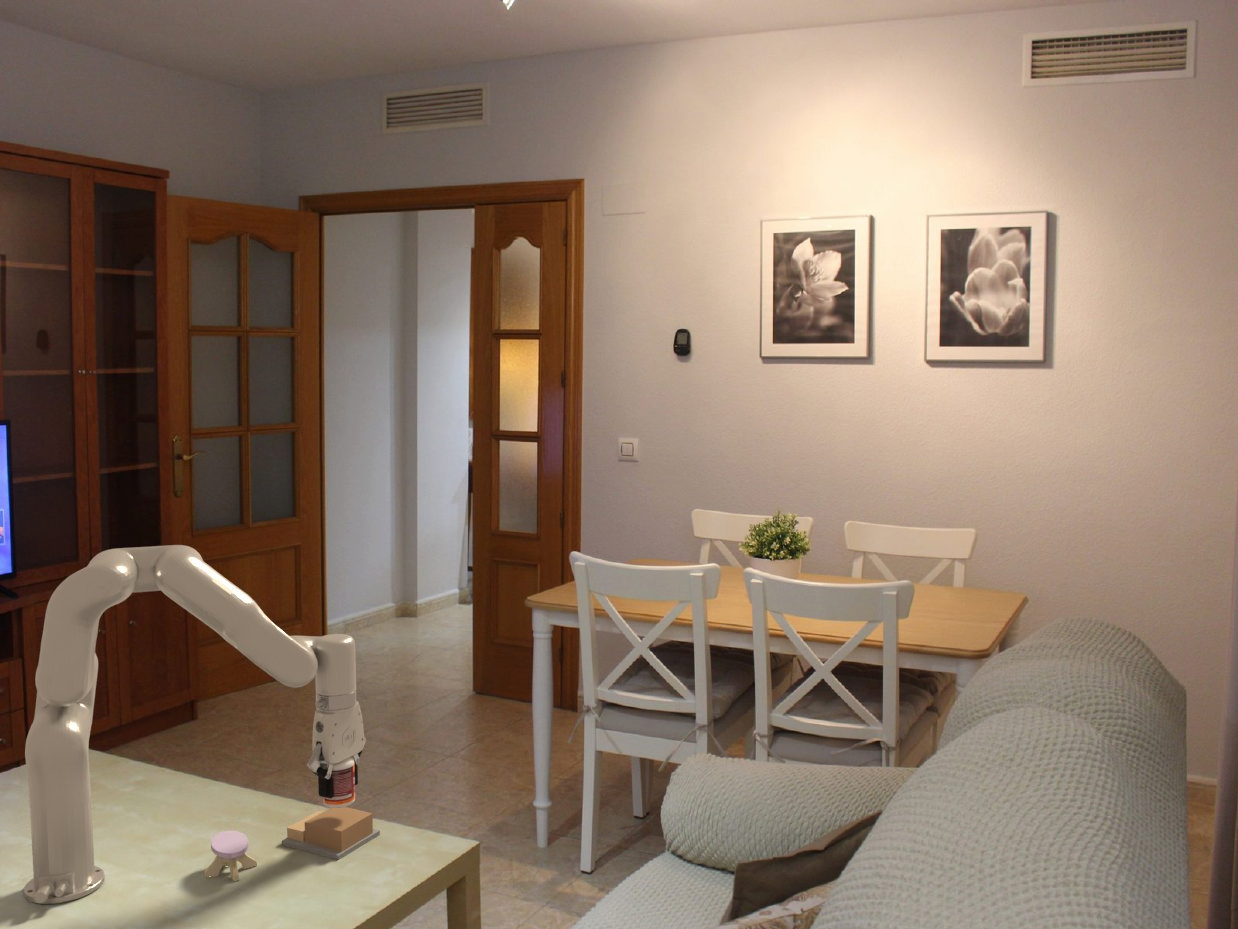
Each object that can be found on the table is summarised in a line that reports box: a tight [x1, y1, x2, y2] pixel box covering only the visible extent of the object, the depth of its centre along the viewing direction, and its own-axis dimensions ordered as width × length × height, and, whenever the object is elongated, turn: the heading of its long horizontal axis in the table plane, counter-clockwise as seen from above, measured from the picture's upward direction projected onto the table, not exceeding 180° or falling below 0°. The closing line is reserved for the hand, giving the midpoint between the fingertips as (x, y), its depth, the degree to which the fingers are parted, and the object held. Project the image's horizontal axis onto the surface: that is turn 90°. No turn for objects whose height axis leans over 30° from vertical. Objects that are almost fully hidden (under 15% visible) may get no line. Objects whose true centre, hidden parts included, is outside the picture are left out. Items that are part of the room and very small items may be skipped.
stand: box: [281, 806, 381, 860], centre depth 206 cm, size 14×12×5 cm
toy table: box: [203, 830, 258, 882], centre depth 193 cm, size 10×9×6 cm
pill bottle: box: [321, 757, 356, 809], centre depth 204 cm, size 6×6×11 cm
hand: (338, 789), depth 204 cm, fingers closed on pill bottle, 6 cm apart
